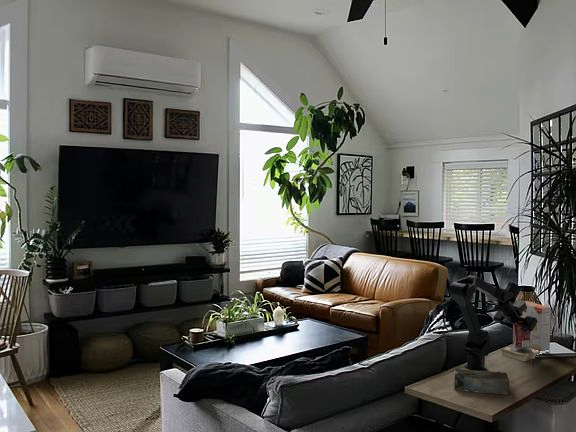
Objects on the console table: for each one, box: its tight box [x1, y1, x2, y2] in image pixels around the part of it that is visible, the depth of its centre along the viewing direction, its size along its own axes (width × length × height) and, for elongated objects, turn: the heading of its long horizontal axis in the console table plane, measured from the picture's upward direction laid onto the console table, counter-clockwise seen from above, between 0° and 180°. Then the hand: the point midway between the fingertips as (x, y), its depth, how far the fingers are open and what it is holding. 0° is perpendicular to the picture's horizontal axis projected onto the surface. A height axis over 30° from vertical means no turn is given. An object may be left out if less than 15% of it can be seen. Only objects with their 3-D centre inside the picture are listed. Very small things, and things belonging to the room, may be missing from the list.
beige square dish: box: [501, 345, 540, 362], centre depth 246 cm, size 11×11×3 cm
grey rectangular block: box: [453, 368, 510, 396], centre depth 208 cm, size 8×19×7 cm, turn 75°
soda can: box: [512, 322, 530, 349], centre depth 245 cm, size 7×7×12 cm
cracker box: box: [520, 300, 552, 351], centre depth 254 cm, size 14×6×21 cm, turn 23°
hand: (523, 331), depth 246 cm, fingers closed on soda can, 6 cm apart
